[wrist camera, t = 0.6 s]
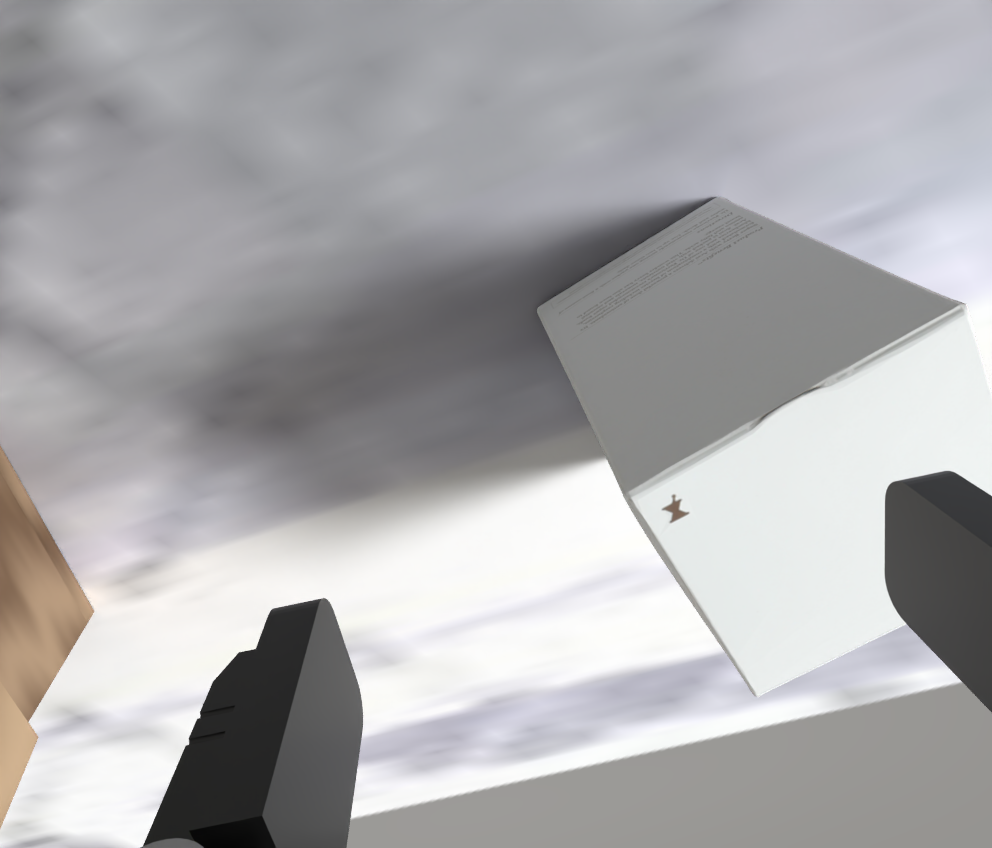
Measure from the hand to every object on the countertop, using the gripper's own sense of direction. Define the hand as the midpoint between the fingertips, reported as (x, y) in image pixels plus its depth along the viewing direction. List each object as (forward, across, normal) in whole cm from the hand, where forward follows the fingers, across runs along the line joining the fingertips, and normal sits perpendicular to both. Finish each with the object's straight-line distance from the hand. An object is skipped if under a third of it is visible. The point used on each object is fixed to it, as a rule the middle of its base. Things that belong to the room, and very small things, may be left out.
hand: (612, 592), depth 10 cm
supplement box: (+22, -7, +3) cm, 23 cm away
